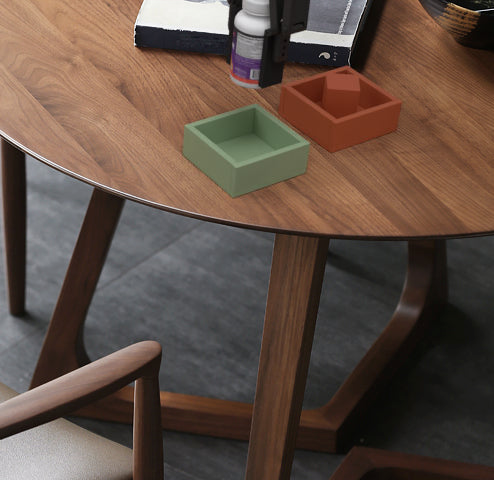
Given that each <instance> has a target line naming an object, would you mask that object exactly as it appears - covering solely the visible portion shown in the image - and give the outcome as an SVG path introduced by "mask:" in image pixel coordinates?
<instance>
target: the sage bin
mask: <svg viewBox="0 0 494 480" xmlns="http://www.w3.org/2000/svg"><path fill="white" fill-rule="evenodd" d="M183 126H184V128H183V141H182V156H183V157H184V158H186V159H187V160H188V161H189V162H190V163H191V164H192V165H194V166H195V167H196V168H197V169H198V170H200V171H201V172H202V173H203V174H204V175H205V176H207V177H208V178H209V179H210V180H211V181H212V182H214V183H215V184H216V185H217V186H218V187H219V188H221V190H223V191H224V192H225V193H226V194H228V195H229V196H230V197H231V198H232V199H235V198H238V197H241V196H243V195H246V194H249V193H252V192H256V191H259V190H261V189H263V188H267V187H269V186H272V185H275V184H278V183H281V182H284V181H287V180H290V179H293V178H295V177H298V176H301V175H304V174H306V173H307V166H308V161H309V155H310V149H311V143H310V141H308V140H307V139H306V138H305V137H303V136H302V135H300V134H299V133H297V132H296V131H294V130H293V129H292V128H291V127H290V126H288V124H285V123H284V122H283V121H282V120H280V119H279V118H277V117H276V116H275V115H273V114H272V113H271V112H269V111H268V110H267V109H266V108H264V107H263V106H261V105H260V104H258V103H257V102H256V103H252V104H249V105H245V106H243V107H239V108H235V109H233V110H230V111H226V112H223V113H220V114H217V115H213V116H210V117H207V118H204V119H200V120H196V121H193V122H191V123H190V122H189V123H187V124H184V125H183Z"/></svg>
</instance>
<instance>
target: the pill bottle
mask: <svg viewBox="0 0 494 480" xmlns="http://www.w3.org/2000/svg"><path fill="white" fill-rule="evenodd" d="M242 8H243V9H242V10H241V11H239V12H238V13H237V15H236V17H235V21H234V31H233V43H232V54H231V64H230V65H229V78H230V80H231V81H232V82H233V84H235V85H237V86H239V87H241V88H245V89H250V90H263V89H262V88H260V87H259V86H258V83H259V74H260V65H261V57H262V48H263V40H264V31H265V30H266V29H269V28H270V11H269V0H243V2H242ZM281 21H282V20H281Z"/></svg>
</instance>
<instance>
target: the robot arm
mask: <svg viewBox="0 0 494 480" xmlns="http://www.w3.org/2000/svg"><path fill="white" fill-rule="evenodd" d="M226 2H227V4H228V5H229V7H228V18H227V29H228V39H227V46H226V47H227V48H226V58H225V59H226V60H225V63H226V64H228V65H229V66H230V64H231V54H232V43H233V31H234V21H235V17H236V15H237V13H238V12H239V11H241V10H242V9H243V8H242V2H243V0H226ZM310 5H311V0H269V11H270V28H269V29H266V30H265V31H264V40H263V48H262V57H261V65H260V74H259V83H258V86H259V87H260V88H262V89H261V90H263V89H266V88H270V87H273V86H277V85H280V84H282V83H283V78H284V69H285V62H286V60H288V57H289V52H290V45H291V39H292V37H291V36H292V35H294V34H297V33H301V32H305V31H306V30H307V29H308V23H309V13H310ZM281 20H282V21H281Z"/></svg>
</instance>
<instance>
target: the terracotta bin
mask: <svg viewBox="0 0 494 480" xmlns="http://www.w3.org/2000/svg"><path fill="white" fill-rule="evenodd" d="M326 73H334V74H349V75H359V84H360V96H359V101H358V106H357V112H356V113H354V114H351V115H348V116H345V117H342V118H339V119H336V118H335V117H333V116H332V115H330V114H329V113H327V112H326V111H325V110H323V109H322V108H321V103H322V96H323V90H324V84H325V78H326ZM278 105H279V106H278V112H277V114H278V115H279V116H280V117H282V118H283V119H284V120H285V121H287V122H288V123H289V124H291V125H293V126H294V127H295V128H296V129H297V130H299V131H300V132H302V133H303V134H304V135H306V136H307V137H308V138H309V139H311V140H313V141H314V142H315V143H317V144H318V145H319V146H321V147H322V148H323V149H325V150H326V151H327V152H329V153H330V154H333V153H335V152H339V151H340V150H344V149H346V148H350V147H352V146H355V145H359V144H361V143H365V142H367V141H370V140H373V139H377V138H379V137H382V136H385V135H387V134H392V133H395V132H397V130H398V124H399V120H400V115H401V111H402V106H403V101H402V100H401V99H399V98H398V97H396V96H395V95H393V94H392V93H390V92H389V91H387V90H385V89H384V88H383V87H381V86H380V85H378V84H377V83H375V82H373V81H372V80H370V79H369V78H367V77H366V76H364V75H362V73H359V72H358V71H356V70H355V69H353V68H352V67H351V66H349V65H344V66H341V67H338V68H335V69H331V70H328V71H324V72H320V73H318V74H314V75H311V76H308V77H305V78H302V79H301V78H300V79H298V80H295V81H291V82H288V83H284V84H281V90H280V96H279V104H278Z"/></svg>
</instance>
